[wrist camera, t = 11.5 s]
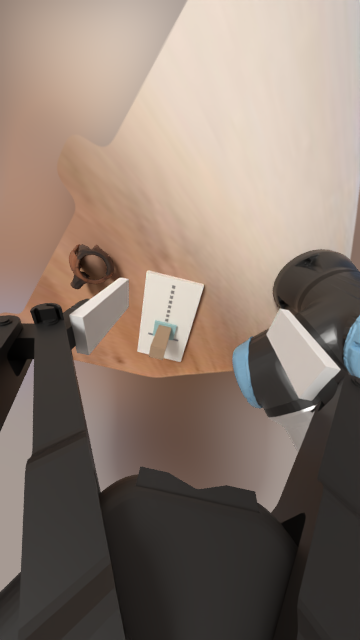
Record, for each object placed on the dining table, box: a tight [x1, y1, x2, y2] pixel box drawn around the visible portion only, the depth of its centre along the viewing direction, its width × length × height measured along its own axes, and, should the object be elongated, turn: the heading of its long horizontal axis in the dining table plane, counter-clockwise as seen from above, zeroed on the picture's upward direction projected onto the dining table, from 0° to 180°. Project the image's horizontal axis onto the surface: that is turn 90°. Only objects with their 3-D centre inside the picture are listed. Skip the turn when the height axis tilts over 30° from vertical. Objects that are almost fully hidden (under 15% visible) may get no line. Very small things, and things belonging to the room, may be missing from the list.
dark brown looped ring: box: [69, 245, 114, 289], centre depth 42 cm, size 12×10×8 cm
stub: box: [149, 320, 177, 360], centre depth 45 cm, size 6×5×10 cm
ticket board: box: [138, 270, 204, 362], centre depth 49 cm, size 14×26×2 cm, turn 168°
